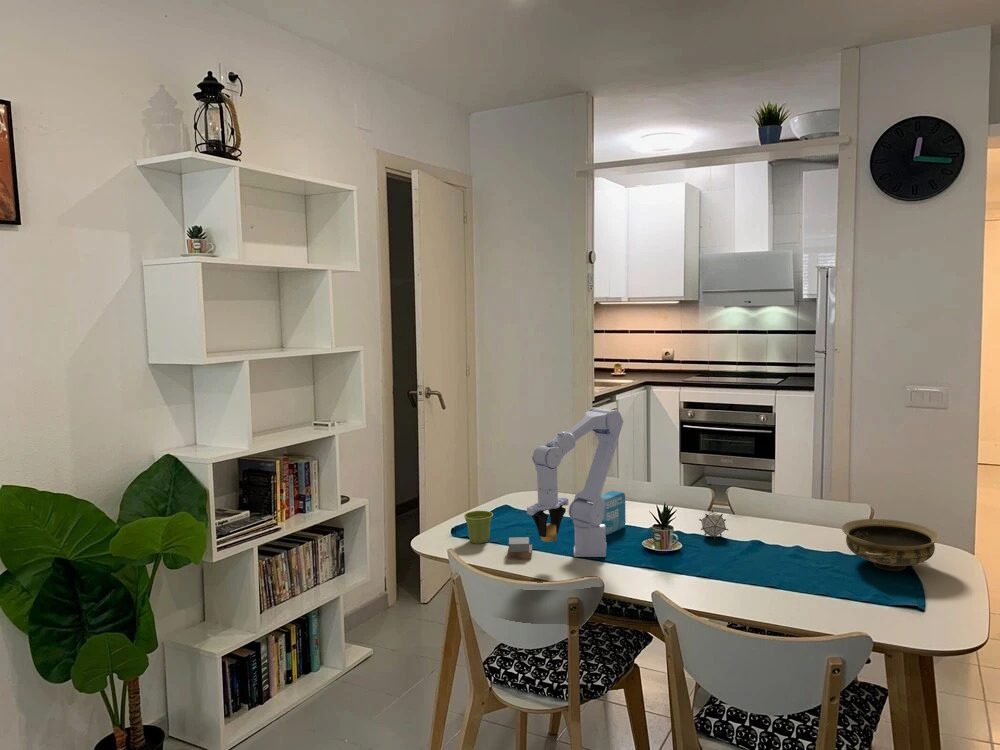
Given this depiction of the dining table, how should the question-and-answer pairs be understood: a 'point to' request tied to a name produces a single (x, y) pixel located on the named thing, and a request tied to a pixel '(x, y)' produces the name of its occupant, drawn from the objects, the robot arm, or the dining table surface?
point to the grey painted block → (519, 544)
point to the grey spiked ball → (713, 524)
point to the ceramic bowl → (890, 542)
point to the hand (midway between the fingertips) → (548, 534)
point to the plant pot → (478, 525)
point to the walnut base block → (520, 554)
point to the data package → (614, 511)
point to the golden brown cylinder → (550, 533)
